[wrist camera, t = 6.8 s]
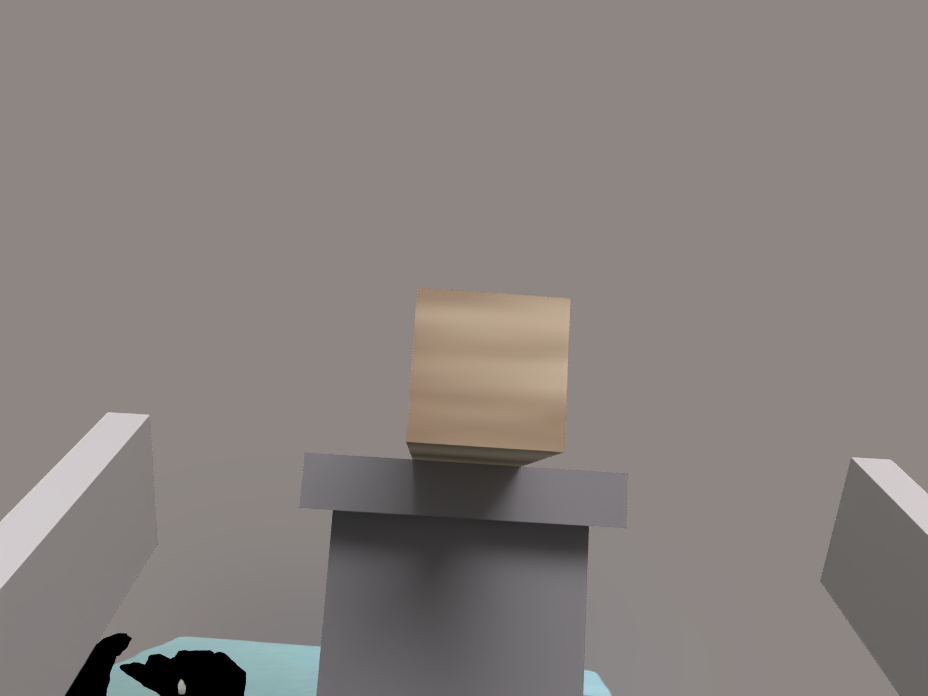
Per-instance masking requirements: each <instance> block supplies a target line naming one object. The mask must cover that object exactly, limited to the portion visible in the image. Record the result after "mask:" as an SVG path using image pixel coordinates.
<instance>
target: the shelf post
mask: <svg viewBox="0 0 928 696" xmlns="http://www.w3.org/2000/svg"><path fill="white" fill-rule="evenodd" d="M627 479H628V474H627V473H611V472H596V471H580V470H565V469H549V468H534V467H519V466H503V465H488V464H472V463H457V462H441V461H426V460H410V459H393V458H379V457H363V456H347V455H332V454H317V453H305V455H304V466H303V477H302V487H301V497H300V507H299V508H309V509H326V510H333V516H332V527H331V539H330V550H329V561H328V572H327V583H326V595H325V607H324V617H323V629H322V640H321V651H320V662H319V674H318V685H317V696H583V683H584V653H585V624H586V594H587V593H586V592H587V563H588V533H589V526H598V527H614V528H626V516H627Z"/></svg>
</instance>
